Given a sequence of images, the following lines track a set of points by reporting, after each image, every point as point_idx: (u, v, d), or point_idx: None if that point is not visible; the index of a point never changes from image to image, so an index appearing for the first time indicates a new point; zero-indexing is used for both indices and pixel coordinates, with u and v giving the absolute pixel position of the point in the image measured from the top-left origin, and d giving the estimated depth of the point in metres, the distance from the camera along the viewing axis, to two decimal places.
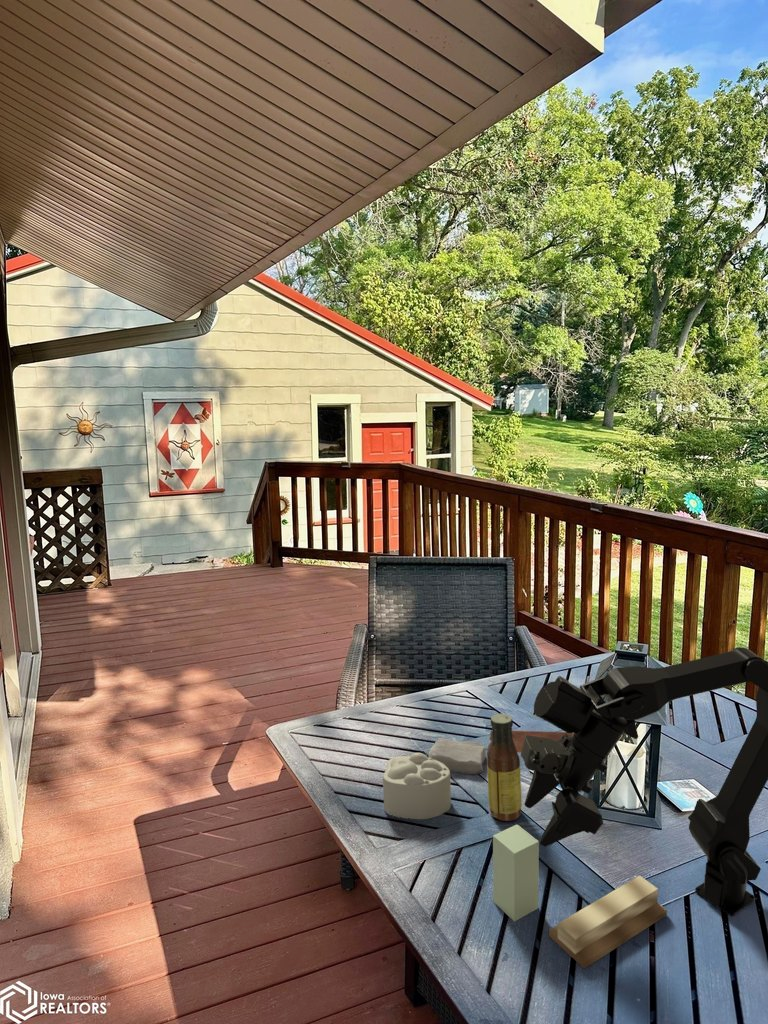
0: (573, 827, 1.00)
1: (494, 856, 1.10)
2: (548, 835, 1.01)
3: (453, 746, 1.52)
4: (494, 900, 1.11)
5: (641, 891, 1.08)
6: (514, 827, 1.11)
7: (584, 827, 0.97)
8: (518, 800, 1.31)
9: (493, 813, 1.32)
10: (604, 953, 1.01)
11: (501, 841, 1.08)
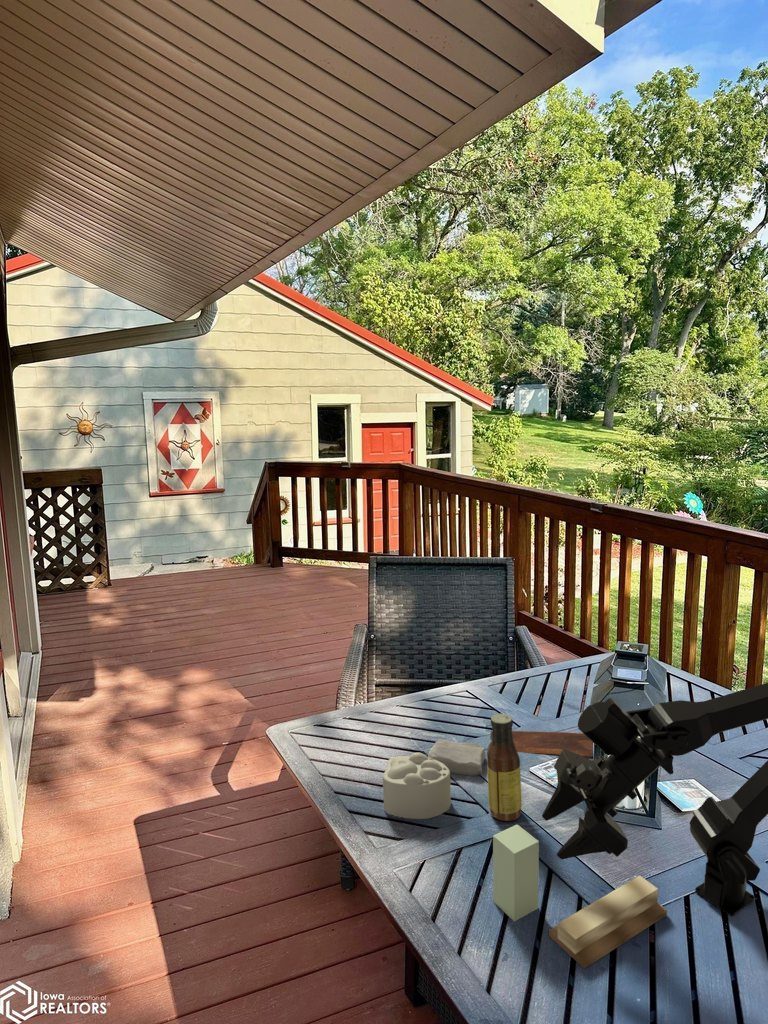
0: (595, 846, 1.02)
1: (494, 856, 1.10)
2: (568, 849, 1.03)
3: (452, 747, 1.51)
4: (494, 900, 1.11)
5: (641, 891, 1.08)
6: (514, 827, 1.11)
7: (609, 848, 0.99)
8: (518, 800, 1.31)
9: (493, 813, 1.32)
10: (604, 953, 1.01)
11: (501, 841, 1.08)
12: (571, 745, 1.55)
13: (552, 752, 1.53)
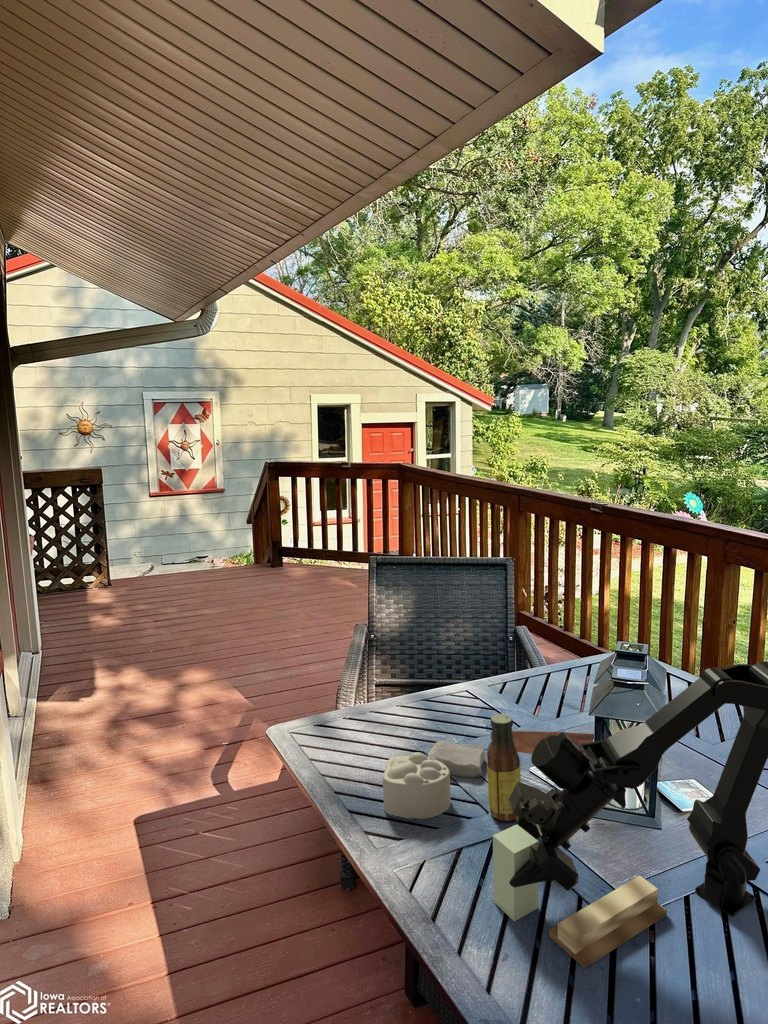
0: (545, 875, 1.04)
1: (494, 856, 1.10)
2: (519, 877, 1.05)
3: (452, 749, 1.51)
4: (494, 900, 1.11)
5: (641, 891, 1.08)
6: (514, 827, 1.11)
7: (559, 882, 1.00)
8: None
9: (493, 813, 1.32)
10: (604, 953, 1.01)
11: (501, 841, 1.08)
12: None
13: None
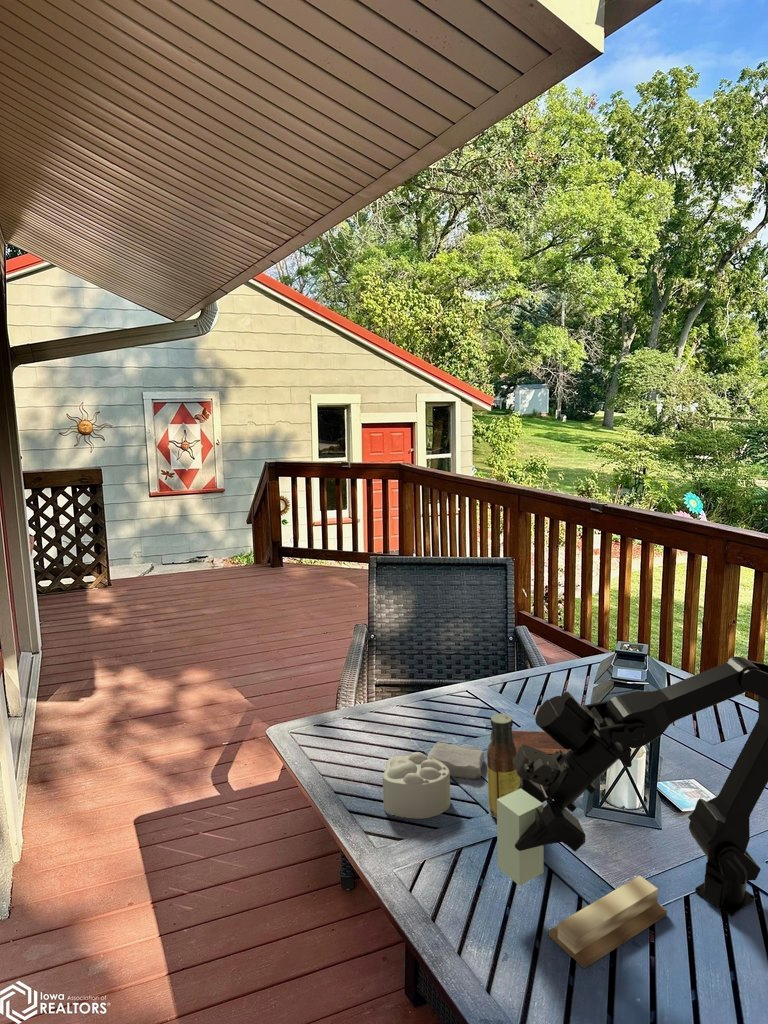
0: (551, 836, 1.02)
1: (498, 821, 1.08)
2: (525, 840, 1.03)
3: (451, 750, 1.50)
4: (498, 866, 1.10)
5: (641, 891, 1.08)
6: (518, 791, 1.09)
7: (566, 843, 0.98)
8: None
9: (493, 813, 1.32)
10: (604, 953, 1.01)
11: (505, 804, 1.06)
12: None
13: (552, 752, 1.53)
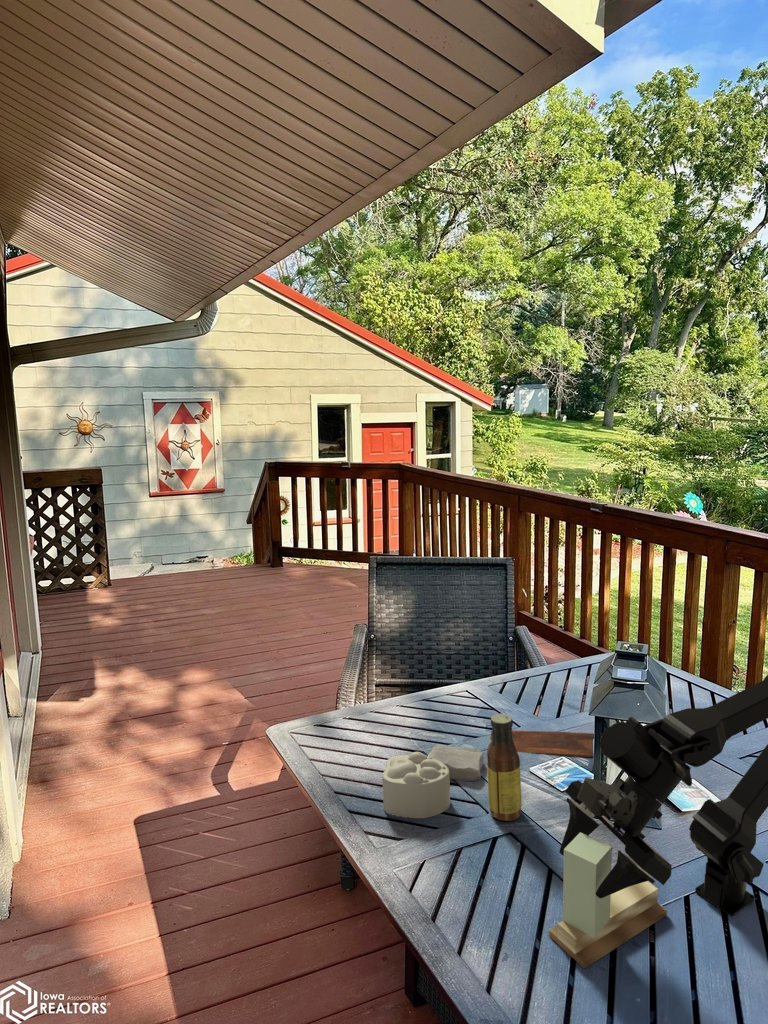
0: (635, 877, 0.96)
1: (566, 872, 1.01)
2: (608, 886, 0.96)
3: (450, 752, 1.49)
4: (564, 919, 1.03)
5: (641, 891, 1.08)
6: (579, 835, 1.03)
7: (656, 878, 0.93)
8: (518, 800, 1.31)
9: (493, 813, 1.32)
10: (604, 953, 1.01)
11: (575, 854, 0.99)
12: (572, 745, 1.55)
13: (553, 752, 1.53)
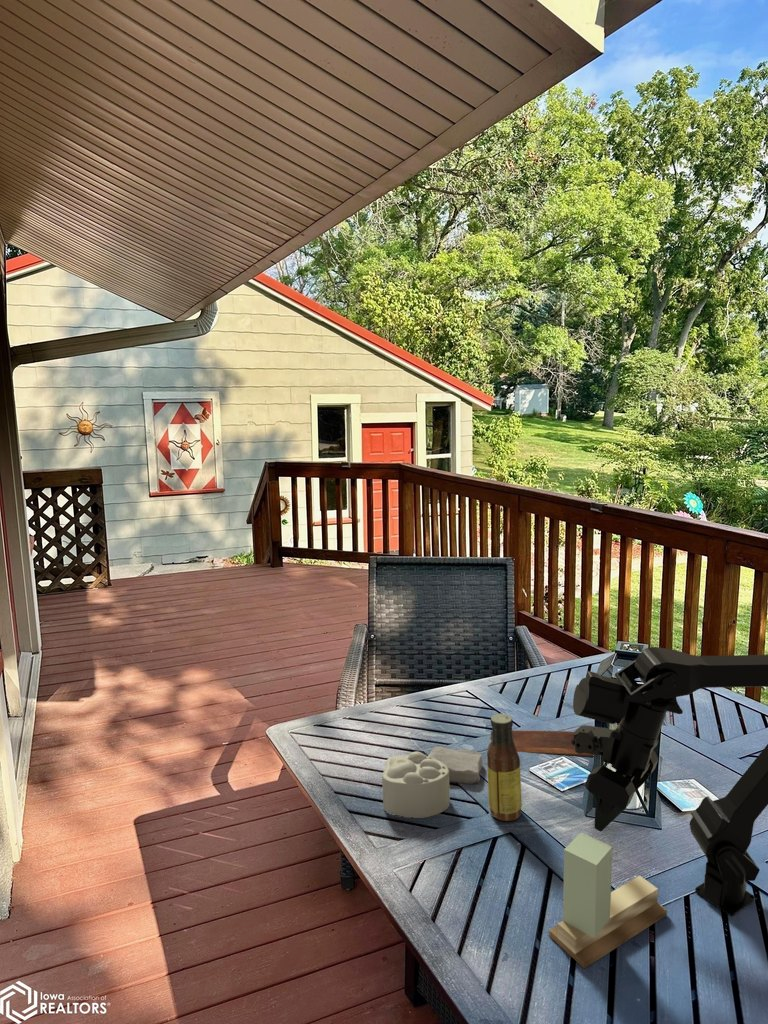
0: (614, 807, 1.02)
1: (566, 872, 1.01)
2: (597, 817, 1.04)
3: (449, 755, 1.48)
4: (564, 919, 1.03)
5: (641, 891, 1.08)
6: (580, 836, 1.03)
7: (608, 799, 0.99)
8: (518, 800, 1.31)
9: (493, 813, 1.32)
10: (604, 953, 1.01)
11: (576, 854, 0.99)
12: None
13: (553, 751, 1.54)
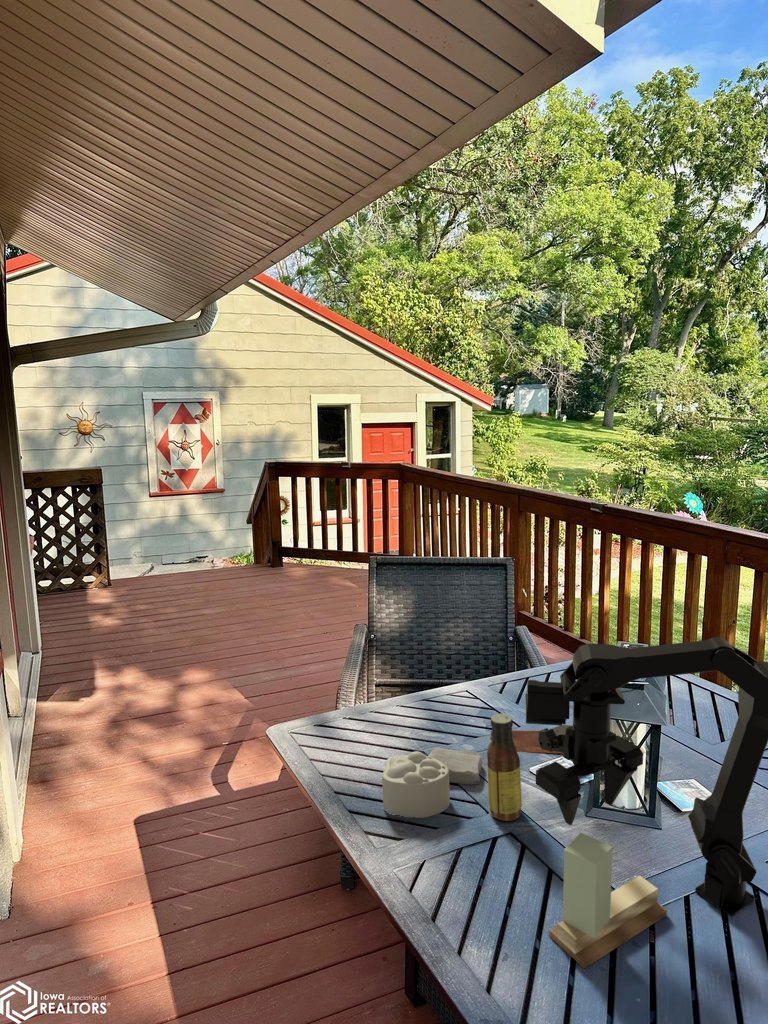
0: None
1: (566, 872, 1.01)
2: (562, 811, 1.10)
3: (449, 756, 1.48)
4: (564, 919, 1.03)
5: (641, 891, 1.08)
6: (580, 836, 1.03)
7: (550, 792, 1.06)
8: (518, 800, 1.31)
9: (493, 813, 1.32)
10: (604, 953, 1.01)
11: (576, 854, 0.99)
12: None
13: (553, 751, 1.54)
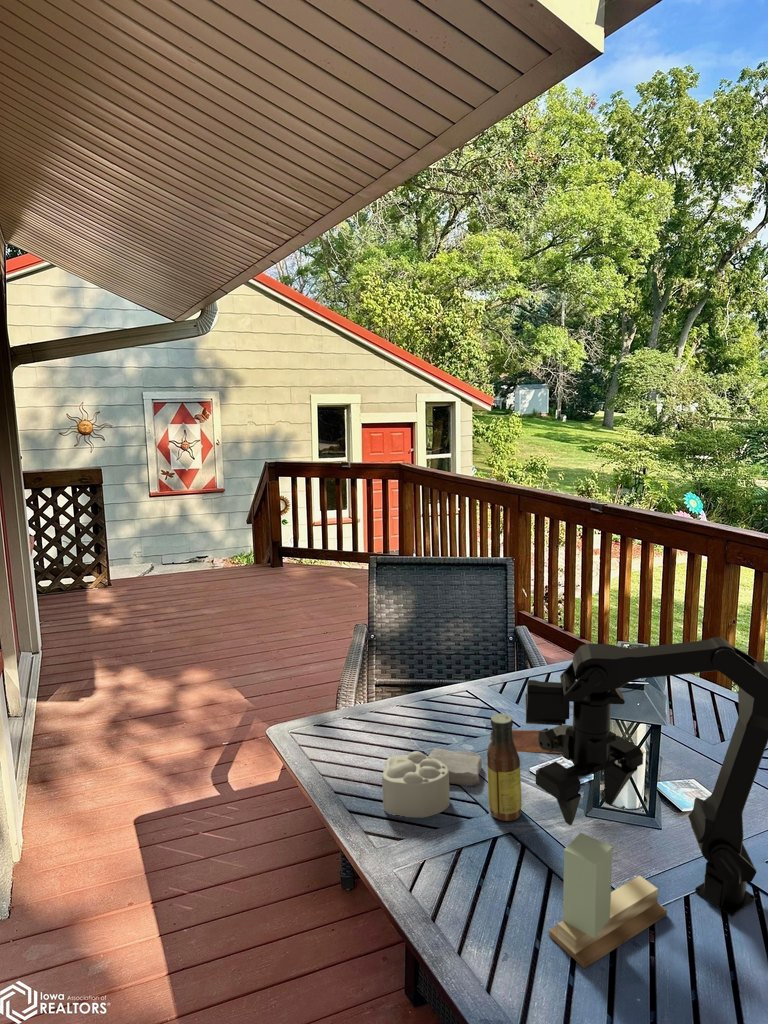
0: None
1: (566, 872, 1.01)
2: (562, 811, 1.10)
3: (449, 757, 1.48)
4: (564, 919, 1.03)
5: (641, 891, 1.08)
6: (580, 836, 1.03)
7: (550, 792, 1.06)
8: (518, 800, 1.31)
9: (493, 813, 1.32)
10: (604, 953, 1.01)
11: (576, 854, 0.99)
12: None
13: (553, 751, 1.54)
